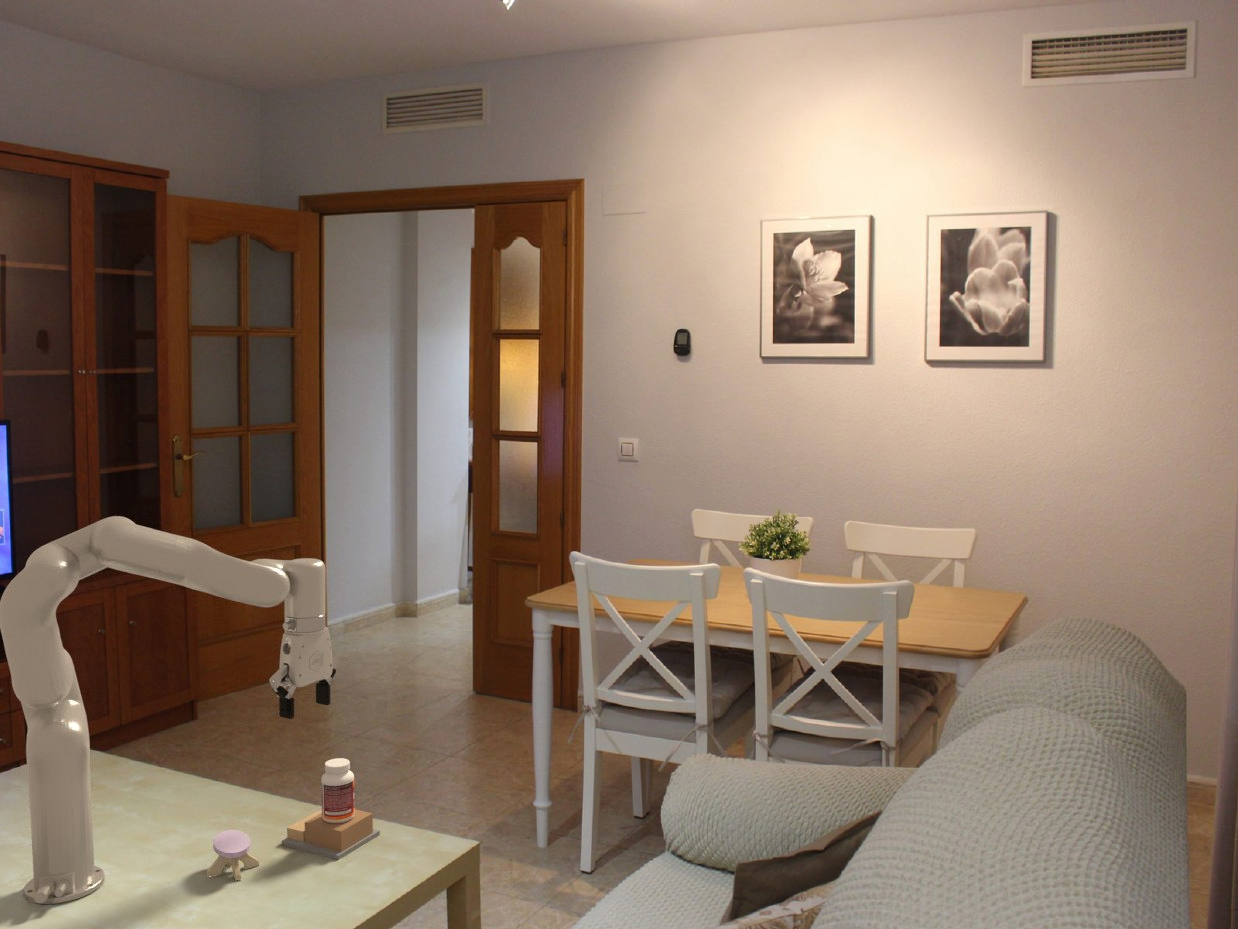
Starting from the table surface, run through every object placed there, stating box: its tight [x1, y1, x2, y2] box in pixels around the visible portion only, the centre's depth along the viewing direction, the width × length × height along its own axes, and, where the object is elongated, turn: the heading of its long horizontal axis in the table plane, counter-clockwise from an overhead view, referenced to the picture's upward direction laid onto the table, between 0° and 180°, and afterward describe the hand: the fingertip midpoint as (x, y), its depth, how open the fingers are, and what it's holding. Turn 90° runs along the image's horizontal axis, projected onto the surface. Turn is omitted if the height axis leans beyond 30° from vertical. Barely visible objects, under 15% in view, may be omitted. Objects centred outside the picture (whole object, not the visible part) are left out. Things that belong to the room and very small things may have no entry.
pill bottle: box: [320, 757, 356, 823], centre depth 204 cm, size 6×6×11 cm
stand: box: [281, 808, 381, 860], centre depth 206 cm, size 14×12×5 cm
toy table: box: [206, 829, 260, 882], centre depth 193 cm, size 10×9×6 cm
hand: (305, 710), depth 204 cm, fingers open, 9 cm apart
